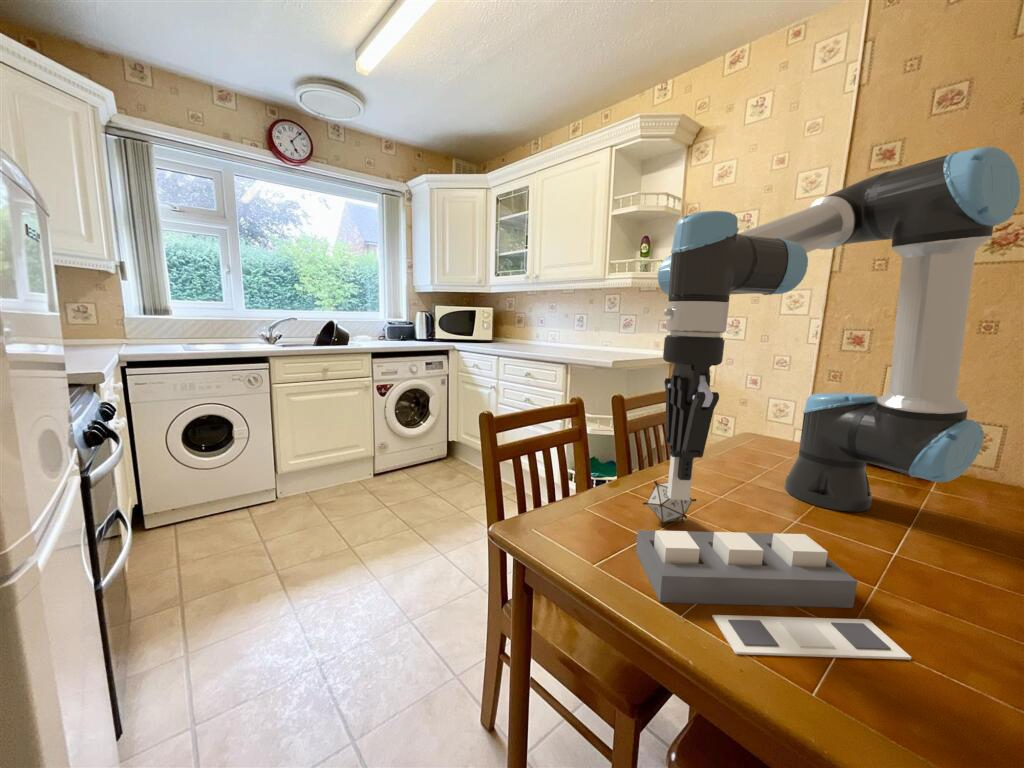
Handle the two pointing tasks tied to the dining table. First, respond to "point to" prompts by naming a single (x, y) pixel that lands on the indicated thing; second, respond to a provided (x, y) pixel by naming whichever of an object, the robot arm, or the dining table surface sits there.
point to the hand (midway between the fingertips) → (678, 497)
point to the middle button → (737, 549)
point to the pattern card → (807, 637)
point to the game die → (667, 504)
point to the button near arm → (799, 550)
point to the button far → (676, 547)
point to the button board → (743, 578)
